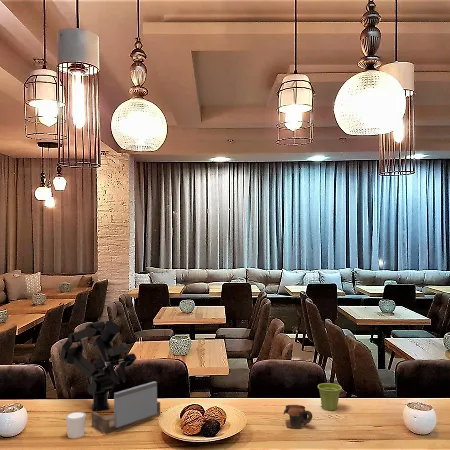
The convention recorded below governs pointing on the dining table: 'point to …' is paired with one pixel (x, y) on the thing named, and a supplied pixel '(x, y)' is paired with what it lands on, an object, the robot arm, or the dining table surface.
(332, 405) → the plant pot
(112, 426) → the tray
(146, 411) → the panel
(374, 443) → the dining table surface
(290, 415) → the pottery mug
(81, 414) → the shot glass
